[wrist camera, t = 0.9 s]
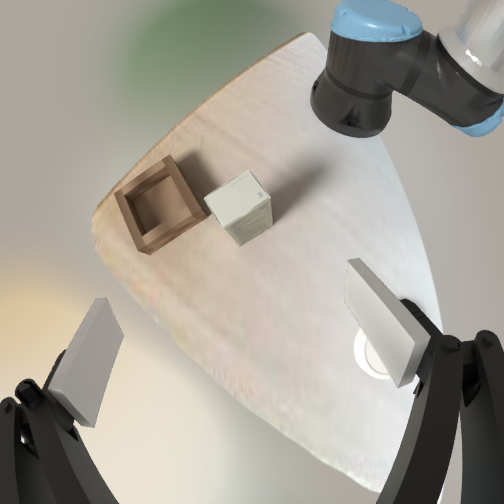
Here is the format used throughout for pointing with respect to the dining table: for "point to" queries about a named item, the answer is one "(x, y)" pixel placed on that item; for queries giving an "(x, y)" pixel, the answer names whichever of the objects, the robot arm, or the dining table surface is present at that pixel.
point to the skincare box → (241, 207)
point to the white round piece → (368, 357)
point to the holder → (158, 206)
